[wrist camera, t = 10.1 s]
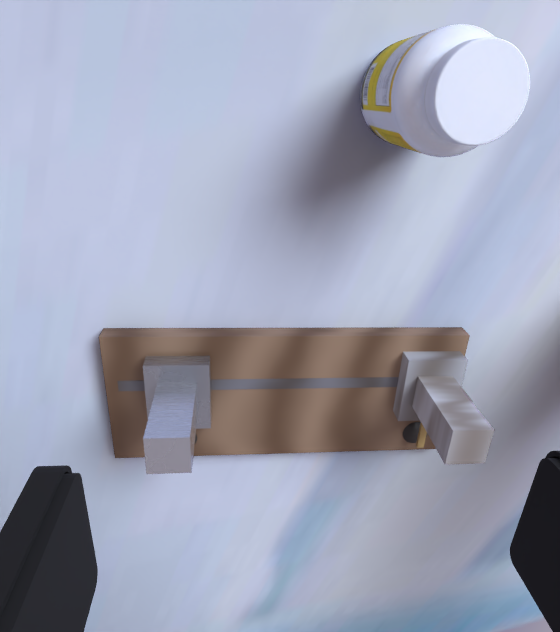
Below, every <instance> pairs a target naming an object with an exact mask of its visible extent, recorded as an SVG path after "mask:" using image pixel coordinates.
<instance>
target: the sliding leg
mask: <svg viewBox="0 0 560 632" xmlns="http://www.w3.org/2000/svg"><path fill="white" fill-rule="evenodd" d="M143 375H144V385H145V396H146V407H147V418H148V421H147V425H146V429H145V433H144V437H143V443H144V453H145V463H146V473H147V474H161V473H192V464H193V455H194V445H195V436H196V429H201V428H211V417H212V416H211V373H210V356H146V358H145V361H144V364H143Z"/></svg>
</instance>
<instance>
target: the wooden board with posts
mask: <svg viewBox="0 0 560 632" xmlns="http://www.w3.org/2000/svg"><path fill="white" fill-rule="evenodd" d="M469 336H470V335H469V334H468V333H467V332H466V331H465V330H464V329H463V328H462V327H456V328H104V329H103V330H102V332H101V334H100V336H99V342H100V349H101V357H102V364H103V372H104V379H105V387H106V394H107V401H108V409H109V416H110V424H111V431H112V439H113V446H114V454H115V458H132V457H145V453H144V443H143V437H144V433H145V429H146V425H147V421H148V418H147V407H146V396H145V385H144V375H143V364H144V361H145V358H146V356H210V373H211V416H212V417H211V428H201V429H196V436H195V445H194V455H193V456H202V455H237V454H272V453H307V452H342V451H377V450H412V449H437V451H438V453H439V455H440V456H441V458H442V460H443V462H444V463H445V464H474V463H485V461H486V457H487V454H488V450H489V447H490V444H491V440H492V437H493V433H494V429H493V427H492V426H491V425H490V423H489V422H488V421H487V420H486V418H485V417H484V416H483V414H482V413H481V412H480V411H479V409H478V408H477V407H476V405H475V404H474V403H473V401H472V400H471V399H470V398H469V396H468V395H467V394H466V392H465V391H464V390H463V389H462V383H463V379H464V375H465V371H466V367H467V363H468V360H467V358H466V357H465V353H466V349H467V344H468V340H469Z"/></svg>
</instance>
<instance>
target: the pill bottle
mask: <svg viewBox="0 0 560 632" xmlns="http://www.w3.org/2000/svg"><path fill="white" fill-rule="evenodd" d="M529 90H530V74H529V68H528V65H527V62H526V60H525V58H524V57H523V55H522V53H521V52H520V51H519V49H518V48H517V47H515V46H514V45H513V44H512V43H510V42H508V41H506V40H504V39H500V38H496V37H494V36H493V35H492V34H491V33H489V32H488V31H486V30H484V29H482V28H480V27H477V26H473V25H468V24H455V25H449V26H445V27H441V28H438V29H435V30H432V31H429V32H426V33H422V34H419V35H416V36H413V37H410V38H407V39H404V40H401V41H398V42H396V43H394V44H392V45H390V46H388V47H387V48H385V49H384V50H383V51H382V52H380V53H379V54H378V55H377V56H376V57H375V59H374V60H373V61H372V63H371V64H370V66H369V67H368V69H367V71H366V73H365V76H364V79H363V82H362V86H361V93H360V103H361V110H362V114H363V116H364V119H365V121H366V123H367V125H368V126H369V128H370V129H371V130H372V131H373V132H374V133H375V134H376V135H377V136H378V137H379V138H381V139H383V140H384V141H387V142H389V143H392V144H395V145H398V146H401V147H404V148H407V149H410V150H413V151H416V152H420V153H423V154H426V155H430V156H436V157H451V156H456V155H460V154H463V153H465V152H468V151H470V150H472V149H474V148H475V147H477V146H478V145H483V144H487V143H490V142H492V141H494V140H496V139H498V138H500V137H501V136H503V135H504V134H505V133H506V132H507V131H509V130H510V129H511V127H512V126H513V125H514V124H515V123H516V121H517V120H518V119H519V117H520V115H521V114H522V112H523V110H524V108H525V105H526V103H527V99H528V95H529Z"/></svg>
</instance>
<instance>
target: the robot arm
mask: <svg viewBox="0 0 560 632" xmlns="http://www.w3.org/2000/svg"><path fill="white" fill-rule="evenodd" d="M510 556H511V560H512V563H513V565H514V567H515V568H516V570H517V572H518V574H519V575H520V577H521V579H522V580H523V582H524V584H525V585H526V587H527V589H528V590H529V592H530V594H531V596H532V597H533V599H534V601H535V602H536V604H537V606H538V607H539V609H540V611H541V612H542V614H543V616H544V618H545V619H546V621H547V622H548V624H549V626H550V628H551V629H552V631H553V632H560V451H551V452H549V453H548V454H547V456H546V458H545V459H542V460H541V461H540V463H539V466H538V469H537V472H536V474H535V477H534V480H533V483H532V486H531V489H530V492H529V494H528V497H527V500H526V503H525V506H524V509H523V512H522V514H521V517H520V520H519V523H518V526H517V529H516V532H515V534H514V537H513V540H512V543H511V546H510ZM96 583H97V563H96V557H95V551H94V546H93V540H92V535H91V529H90V523H89V518H88V512H87V506H86V501H85V495H84V489H83V484H82V478H81V475H80V474H79V473H72V471H71V468H70V467H69V466H37V467H36V468H35V469H34V470H33V472H32V473H31V475H30V477H29V479H28V481H27V483H26V485H25V486H24V488H23V490H22V492H21V494H20V496H19V498H18V500H17V502H16V504H15V505H14V507H13V509H12V511H11V513H10V515H9V517H8V519H7V521H6V523H5V524H4V526H3V528H2V530H1V532H0V632H84V628H85V625H86V621H87V617H88V614H89V610H90V606H91V603H92V599H93V596H94V592H95V588H96Z"/></svg>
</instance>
